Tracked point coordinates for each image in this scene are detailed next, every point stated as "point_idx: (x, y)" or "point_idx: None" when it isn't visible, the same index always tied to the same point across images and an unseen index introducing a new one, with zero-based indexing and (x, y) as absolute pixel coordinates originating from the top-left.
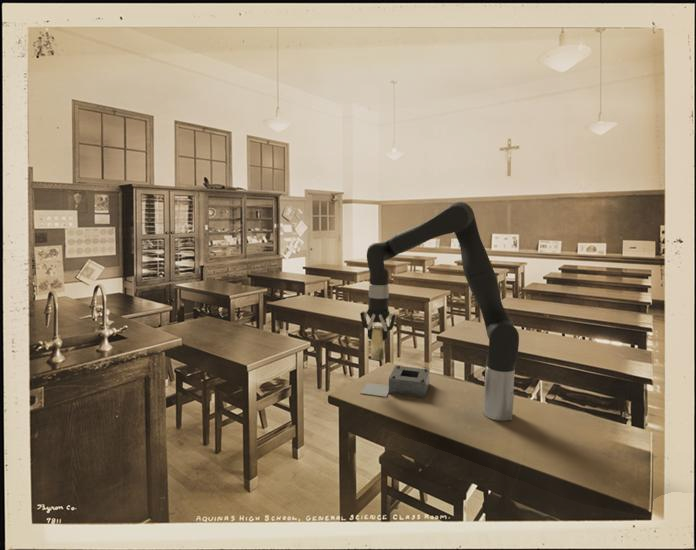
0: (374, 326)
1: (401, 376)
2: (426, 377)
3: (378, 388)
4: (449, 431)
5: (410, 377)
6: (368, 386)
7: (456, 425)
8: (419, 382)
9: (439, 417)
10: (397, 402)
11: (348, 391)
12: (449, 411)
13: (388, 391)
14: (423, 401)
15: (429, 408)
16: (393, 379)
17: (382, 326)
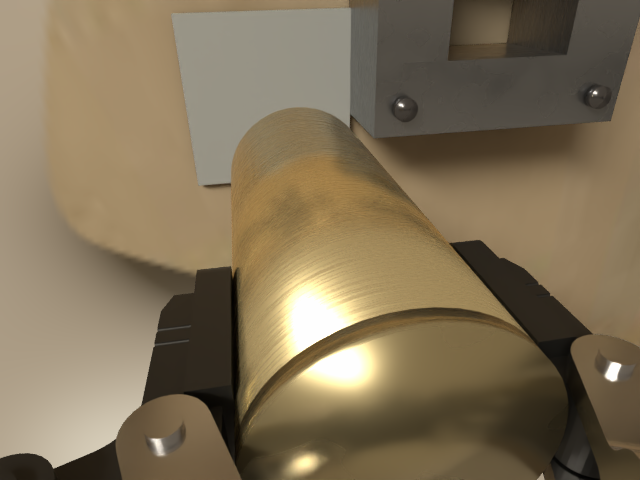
0: (295, 432)
1: (457, 70)
2: (632, 20)
3: (278, 83)
4: (593, 324)
5: (520, 65)
6: (206, 77)
7: (626, 281)
8: (570, 123)
9: (579, 252)
10: (408, 194)
11: (112, 172)
12: (631, 188)
13: (348, 105)
14: (533, 134)
15: (551, 195)
16: (404, 134)
17: (515, 338)
